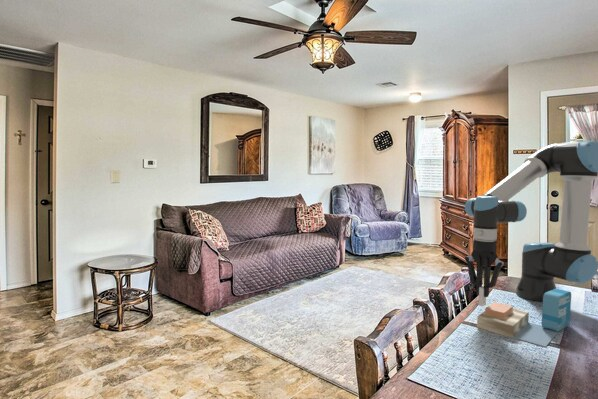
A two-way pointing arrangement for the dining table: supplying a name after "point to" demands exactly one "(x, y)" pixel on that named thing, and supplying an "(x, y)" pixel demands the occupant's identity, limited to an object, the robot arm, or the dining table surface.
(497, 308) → the salmon orange flat block
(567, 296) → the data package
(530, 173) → the robot arm
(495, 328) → the plate
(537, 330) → the mat
